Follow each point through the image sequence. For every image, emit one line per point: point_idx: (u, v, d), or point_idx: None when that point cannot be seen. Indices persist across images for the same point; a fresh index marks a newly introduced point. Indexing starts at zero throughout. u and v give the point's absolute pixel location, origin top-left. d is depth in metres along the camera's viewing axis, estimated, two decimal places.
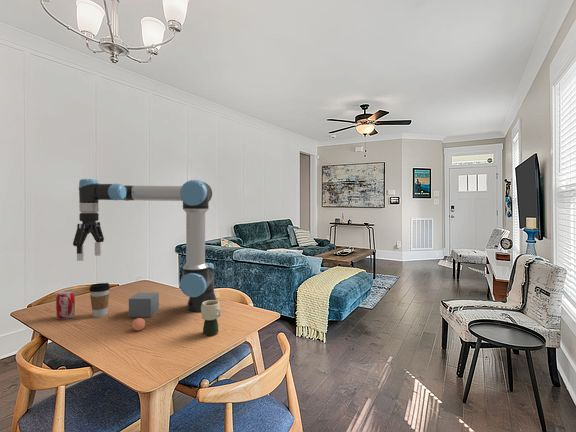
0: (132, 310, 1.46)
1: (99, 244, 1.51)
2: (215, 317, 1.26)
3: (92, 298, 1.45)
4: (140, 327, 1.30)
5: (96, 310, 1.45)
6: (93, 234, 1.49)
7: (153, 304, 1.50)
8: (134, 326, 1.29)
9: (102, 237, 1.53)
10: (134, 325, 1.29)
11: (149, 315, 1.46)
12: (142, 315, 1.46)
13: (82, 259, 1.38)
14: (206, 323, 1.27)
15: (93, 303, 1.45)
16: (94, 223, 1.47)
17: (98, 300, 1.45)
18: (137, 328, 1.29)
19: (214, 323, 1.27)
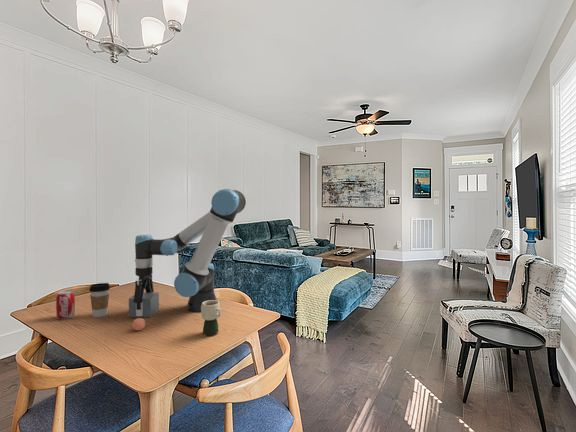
0: (132, 310, 1.46)
1: None
2: (215, 317, 1.26)
3: (92, 298, 1.45)
4: (140, 327, 1.30)
5: (96, 310, 1.45)
6: (145, 287, 1.54)
7: (153, 304, 1.50)
8: (134, 326, 1.29)
9: (152, 289, 1.59)
10: (134, 325, 1.29)
11: (149, 315, 1.46)
12: None
13: (141, 314, 1.46)
14: (206, 323, 1.27)
15: (93, 303, 1.45)
16: (148, 275, 1.53)
17: (98, 300, 1.45)
18: (137, 328, 1.29)
19: (214, 323, 1.27)
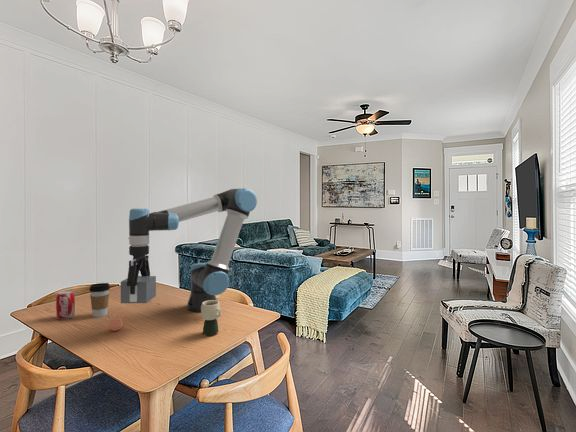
0: (125, 294, 1.26)
1: None
2: (215, 317, 1.26)
3: (92, 298, 1.45)
4: (109, 326, 1.29)
5: (96, 310, 1.45)
6: (140, 270, 1.34)
7: (149, 289, 1.29)
8: (114, 325, 1.29)
9: (149, 273, 1.38)
10: (115, 326, 1.29)
11: (144, 301, 1.26)
12: None
13: (135, 300, 1.25)
14: (206, 323, 1.27)
15: (93, 303, 1.45)
16: (144, 256, 1.33)
17: (98, 300, 1.45)
18: (111, 325, 1.29)
19: (214, 323, 1.27)
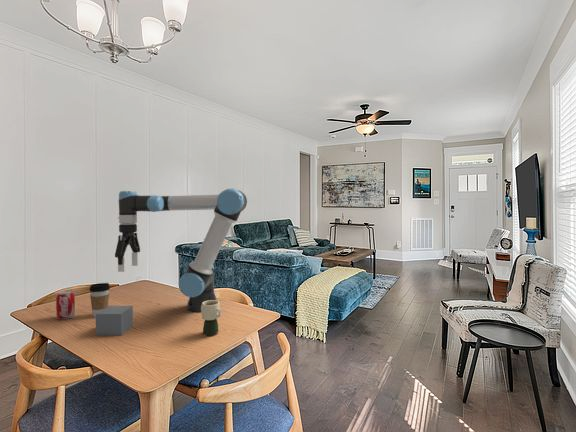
0: (100, 327, 1.26)
1: (136, 254, 1.54)
2: (215, 317, 1.26)
3: (92, 298, 1.45)
4: None
5: (96, 310, 1.45)
6: (130, 245, 1.51)
7: (125, 320, 1.30)
8: None
9: (138, 247, 1.56)
10: None
11: (119, 333, 1.26)
12: (111, 333, 1.26)
13: (123, 270, 1.40)
14: (206, 323, 1.27)
15: (93, 303, 1.45)
16: (132, 234, 1.49)
17: (98, 300, 1.45)
18: None
19: (214, 323, 1.27)
